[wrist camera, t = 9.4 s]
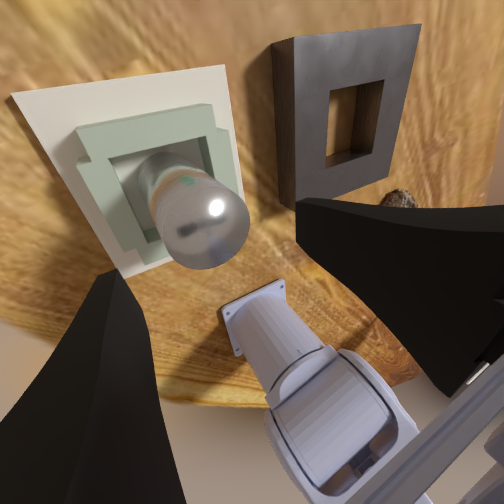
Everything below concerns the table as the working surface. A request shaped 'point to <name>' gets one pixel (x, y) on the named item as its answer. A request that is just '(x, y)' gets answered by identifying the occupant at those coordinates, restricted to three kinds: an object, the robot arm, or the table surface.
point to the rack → (133, 147)
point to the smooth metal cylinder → (192, 211)
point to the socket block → (317, 107)
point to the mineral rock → (400, 199)
